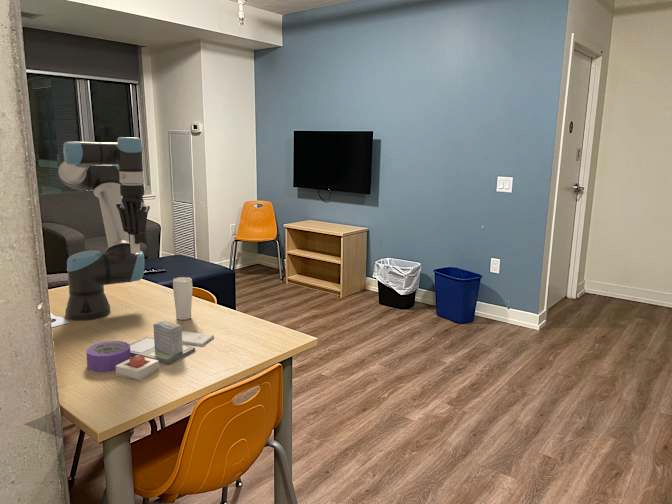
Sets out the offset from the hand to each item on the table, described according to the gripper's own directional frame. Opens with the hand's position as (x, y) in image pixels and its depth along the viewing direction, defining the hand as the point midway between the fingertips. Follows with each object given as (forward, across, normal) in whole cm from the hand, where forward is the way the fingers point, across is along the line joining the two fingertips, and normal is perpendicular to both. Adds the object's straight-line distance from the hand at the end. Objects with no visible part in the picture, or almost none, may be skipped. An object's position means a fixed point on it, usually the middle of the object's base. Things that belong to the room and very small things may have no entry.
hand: (135, 252), depth 175 cm
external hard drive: (+27, +25, -2) cm, 37 cm away
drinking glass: (+27, +9, +13) cm, 31 cm away
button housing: (+26, +28, -29) cm, 48 cm away
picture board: (+26, +22, -15) cm, 38 cm away
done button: (+25, +28, -29) cm, 48 cm away
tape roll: (+27, +16, -28) cm, 42 cm away
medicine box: (+26, +27, -15) cm, 40 cm away
